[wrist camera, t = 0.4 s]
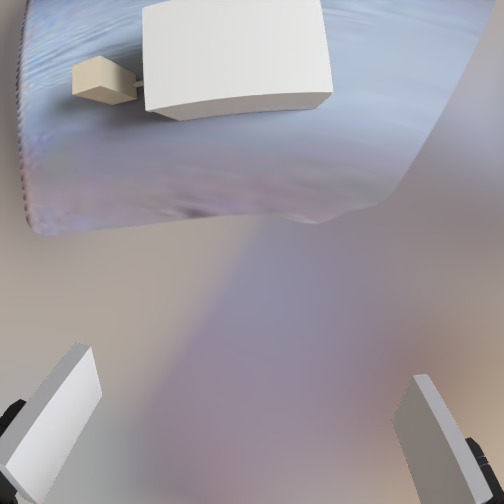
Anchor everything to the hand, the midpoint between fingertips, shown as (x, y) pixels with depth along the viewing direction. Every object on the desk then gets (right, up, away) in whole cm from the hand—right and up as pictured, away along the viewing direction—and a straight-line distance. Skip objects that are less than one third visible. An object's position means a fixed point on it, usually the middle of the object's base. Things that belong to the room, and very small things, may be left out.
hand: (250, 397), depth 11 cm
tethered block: (-6, +25, +19) cm, 32 cm away
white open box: (-1, +26, +19) cm, 32 cm away
